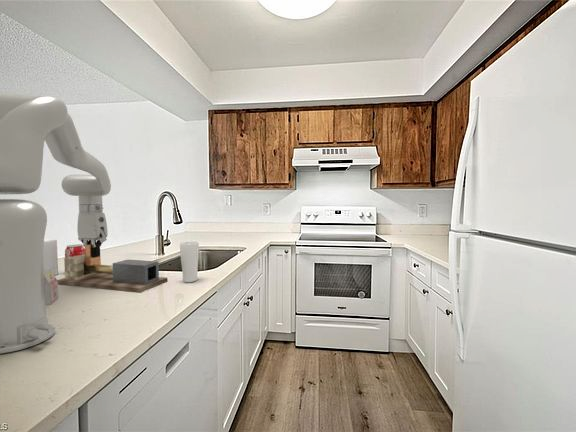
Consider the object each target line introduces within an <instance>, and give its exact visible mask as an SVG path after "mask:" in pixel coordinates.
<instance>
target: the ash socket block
mask: <svg viewBox="0 0 576 432" xmlns="http://www.w3.org/2000/svg"><path fill="white" fill-rule="evenodd" d="M63 262H64V264H63V265H64V278H65V279H68V280H80V279H84V278H88V277H91V276H95V275H98V274H101V273H92V272H84V263H85V264H86V257H85V254H84V255H79V256H74V257H68V258H65V257H64V261H63ZM98 265H102V262H101V258H100V264H98Z"/></svg>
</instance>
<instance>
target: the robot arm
mask: <svg viewBox="0 0 576 432" xmlns="http://www.w3.org/2000/svg"><path fill="white" fill-rule="evenodd" d="M45 143H46V145H47V147H48V149H49V151H50V153H51V156H52V158H53V159H54V160H55V161H56V162H57V163H60V164H62V165H65V166H67V167H70V168H73V169H77V170H80V171H83V172H86V173H88V174H69V175H66V176H64V177H63V179H62V181H61V189H62V190H63V192H64V193H65V194H66V195H69V196H71V197H73V196H75V197H78V216H77V237H78V238H77V240H79V241H80V242H81V244H82V245H83V247H84V248H85V245H86V244H93V247H91V249H92V258H95V257H100V258H101V246H102V244H103V243H104V242H106V241H107V237H108V232H109V231H108V224H107V218H106V214H105V212H104V207H103V197H104V196H107V195H108V194H109V193H110V191H111V189H112V184H111V179H110V176H109V173H108V170H107V167H106V166H105V165H104V164H103V163H102V162H101V161H100V160H99V159H98V158H97V157H95V156H94V155H92V154H90V153H89V152H88V151H86V150H85V149H84V147H83V143H82V142H81V140H80V136H79V133H78V131H77V128H76V126H75V123H74V121H73V118H72V117H71V115H70V114H69V113H68V107H67V105H66V103H65V102H64V101H62V100H61V99H59V98H58V97H55V96H51V95H43V94H42V95H39V94H30V93H29V94H28V93H15V92H14V93H13V92H3V91H2V92H1V91H0V195H27V194H32V193H35V192H36V191H38V190H39V188H40V185H41V182H42V174H43V173H42V172H43V163H44V162H43V159H44V147H45ZM47 221H48V215H47V212H46V210H45V208H44V207H43V206H42V205H40V203H37V202H35V201H32V200H28V199H19V198H18V199H16V198H15V199H13V198H12V199H11V198H10V199H9V198H6V199H5V198H1V199H0V354H6V353H11V352H17V351H20V350H24V349H27V348H30V347H34V346H36V345H39V344H41V343H44V342H45V341H47V340H49V339H51V338H52V337H53V336H54V334H55V333H56V327H55V325H53V324H51V323H49V318H48V317H47V310H46V309H47V308H46V307H47V305H45V284H44V263H43V245H44V239H45V235H46V230H47V225H48V224H47V223H48V222H47ZM85 257H86V254H85Z"/></svg>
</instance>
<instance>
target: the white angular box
mask: <svg viewBox="0 0 576 432" xmlns="http://www.w3.org/2000/svg"><path fill="white" fill-rule="evenodd" d="M57 280H58V279H57V277H56V275H54V274H53V272H52V270H51V268H48V269H47V270H45V271H44V284H45V305H46V306H51V305H53V304H54V303H55V302H56V301H57V300H58V299H59V289H58V285H59V284H58V283H57Z"/></svg>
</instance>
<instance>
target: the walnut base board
mask: <svg viewBox="0 0 576 432" xmlns="http://www.w3.org/2000/svg"><path fill="white" fill-rule="evenodd" d="M167 282H168V277H165V276H164V277H163V276H159V280H157V281H155V282H152V283H150V284H147V285H138V284H127V283H116V282H113V274H104V273H101V274H98V275H95V276H91V277H88V278H84V279H80V280H68V279H65V277H63V278H59V279H57V283H58V285H61V286H69V287H70V286H71V287H72V286H73V287H79V288H80V287H82V288H91V289H101V290H110V291H119V292H130V293H131V292H132V293H138V294H139V293H142V292H145V291H147V290H151V289H153V288H155V287H157V286H160V285H162V284H165V283H167Z"/></svg>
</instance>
